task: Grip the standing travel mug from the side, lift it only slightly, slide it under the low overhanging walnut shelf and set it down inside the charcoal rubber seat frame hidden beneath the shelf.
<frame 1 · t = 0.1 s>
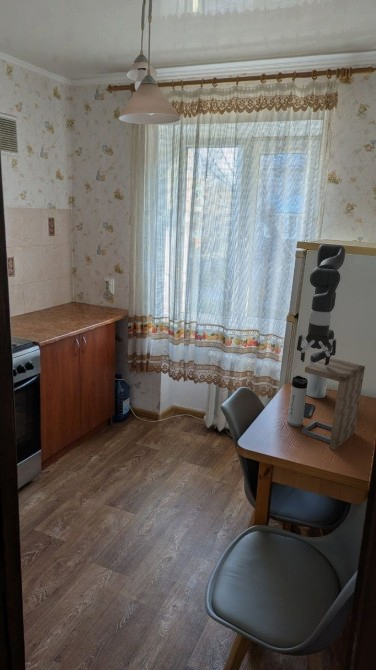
hand: (314, 363, 177), 29 cm above the table, tool pointing down, fingers open, 8 cm apart
seat frame: (321, 432, 185), on the table
phone: (303, 411, 206), on the table
overhang shelf: (321, 432, 185), on the table
travel mug: (294, 423, 192), on the table
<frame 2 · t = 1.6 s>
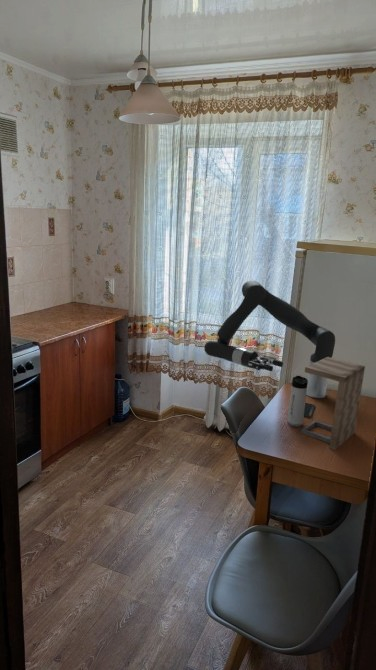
hand: (277, 366, 193), 22 cm above the table, tool horizontal, fingers open, 8 cm apart
nothing on the table moved.
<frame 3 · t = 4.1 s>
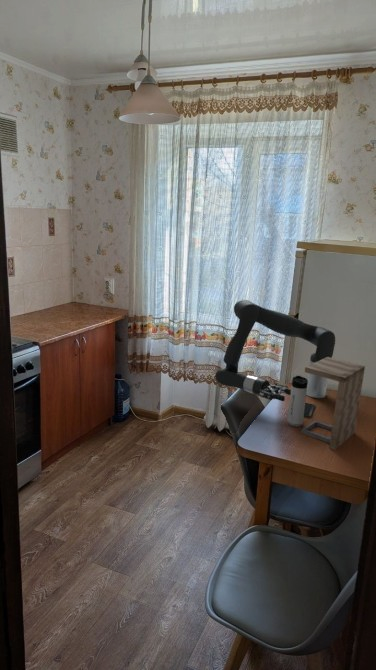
hand: (289, 396, 192), 11 cm above the table, tool horizontal, fingers open, 8 cm apart
nothing on the table moved.
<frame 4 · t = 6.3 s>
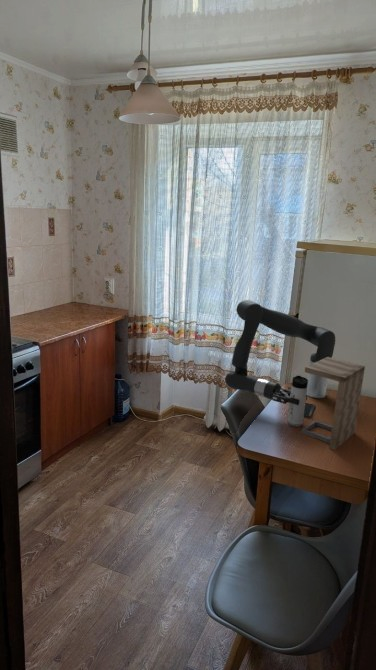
hand: (302, 400, 188), 11 cm above the table, tool horizontal, fingers closed on travel mug, 6 cm apart
travel mug: (294, 423, 192), on the table, touching gripper
everything else where it was.
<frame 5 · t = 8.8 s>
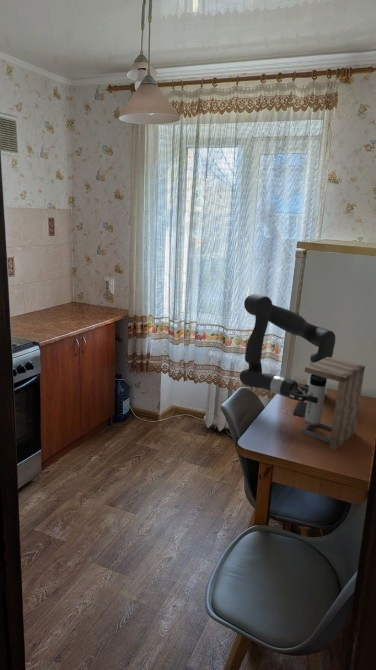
hand: (321, 398, 182), 14 cm above the table, tool horizontal, fingers closed on travel mug, 6 cm apart
travel mug: (311, 422, 187), point 3 cm above the table, touching gripper
everything else where it was.
when the fingers open (12 cm above the table, at t = 11.5 s): travel mug stays where it is, resting in seat frame.
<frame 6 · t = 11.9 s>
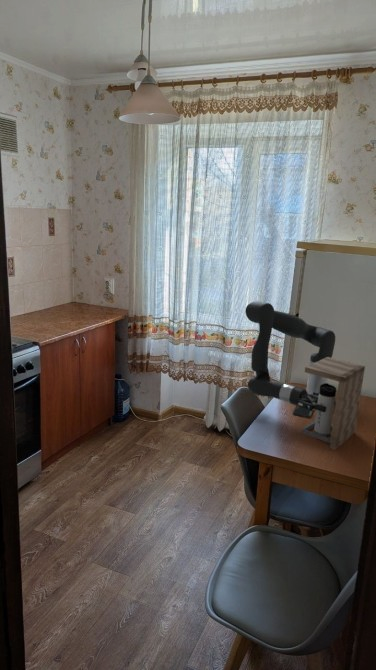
hand: (330, 406, 180), 12 cm above the table, tool horizontal, fingers open, 8 cm apart
travel mug: (321, 433, 185), resting in seat frame
everything else where it was.
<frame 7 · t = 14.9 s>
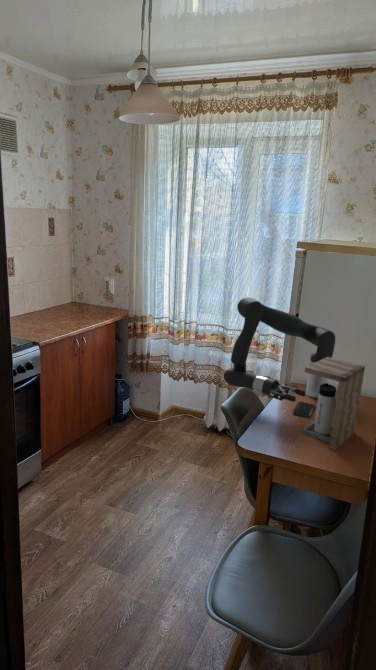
hand: (300, 396, 188), 12 cm above the table, tool horizontal, fingers open, 8 cm apart
nothing on the table moved.
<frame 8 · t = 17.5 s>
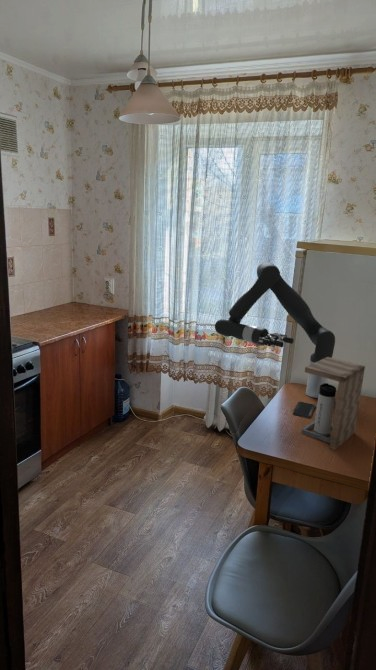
hand: (288, 343, 193), 32 cm above the table, tool horizontal, fingers open, 8 cm apart
nothing on the table moved.
at the end: travel mug 0.2 cm off-centre on the seat frame, point 0.0 cm above the seat frame's base; travel mug tilted 0°; the gripper is holding nothing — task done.
